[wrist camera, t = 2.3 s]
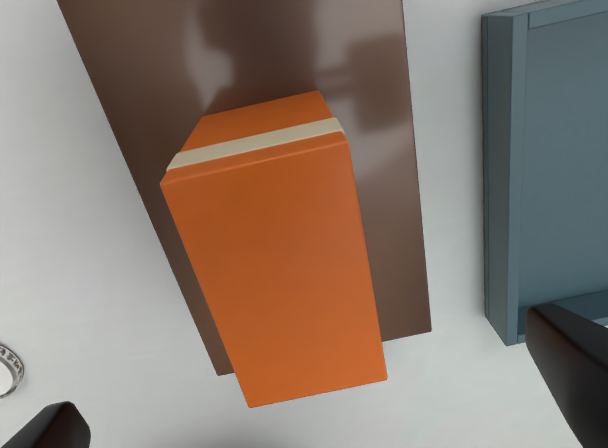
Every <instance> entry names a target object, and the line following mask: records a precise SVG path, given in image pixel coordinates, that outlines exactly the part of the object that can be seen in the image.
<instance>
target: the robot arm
mask: <svg viewBox="0 0 608 448" xmlns="http://www.w3.org/2000/svg"><path fill="white" fill-rule="evenodd" d="M525 341H526V345H527V348H528V350H529V352H530V354H531V356H532V358H533V360H534V362H535V364H536V366H537V367H538V369H539V371H540V373H541V375H542V377H543V379H544V381H545V382H546V384H547V386H548V388H549V390H550V392H551V394H552V396H553V397H554V399H555V401H556V403H557V405H558V407H559V409H560V411H561V412H562V414H563V416H564V418H565V420H566V421H567V423H568V425H569V426H570V428H571V430H572V431H573V433H574V434H575V436H576V437H577V439H578V441H579V442H580V443H581V445H582V446H583V448H608V328H606V327H604V326H602V325H600V324H598V323H595V322H593V321H591V320H589V319H587V318H585V317H583V316H580V315H578V314H576V313H574V312H572V311H570V310H567V309H565V308H563V307H561V306H559V305H557V304H554V303H550V302H547V303H542V304H537V305H532V306H530V307H529V308H528V309H527V313H526V331H525ZM90 439H91V433H90V429H89V426H88V424H87V423H86V421H85V420H84V418H83V417H82V415H81V414H80V413H79V411H78V410H77V408H76V407H75V405H74V404H73V403H71V402H69V401H65V402H60V403H55V404H51V405H48V406H46V407H45V408H44V409H43V410H42V411H41V412H39V413H38V414H37V415H36V416H35V417H34V418H33V419H32V420H31V421H30V422H29V423H27V424H26V425H25V426H24V427H23V428H22V429H21V430H20V431H19V432H18V433H16V434H15V435H14V436H13V437H12V438H11V439H10V440H9V441H8V442H7V443H6V444H4V445H3V446H2V447H1V448H89V445H90Z"/></svg>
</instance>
